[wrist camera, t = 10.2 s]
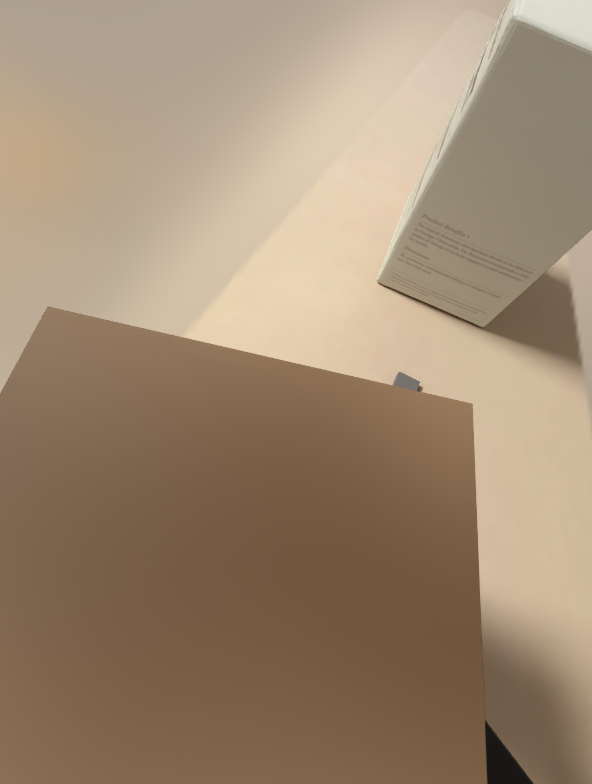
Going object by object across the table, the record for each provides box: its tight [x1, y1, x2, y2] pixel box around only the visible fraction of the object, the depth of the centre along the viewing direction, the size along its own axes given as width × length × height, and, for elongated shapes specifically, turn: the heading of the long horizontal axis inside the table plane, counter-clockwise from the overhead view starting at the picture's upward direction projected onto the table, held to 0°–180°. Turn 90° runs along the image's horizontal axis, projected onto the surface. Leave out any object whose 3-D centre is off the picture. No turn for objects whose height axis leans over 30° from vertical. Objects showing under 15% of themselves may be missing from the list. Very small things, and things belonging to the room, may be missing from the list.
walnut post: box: [0, 307, 487, 784], centre depth 9 cm, size 4×5×13 cm
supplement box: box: [377, 0, 592, 327], centre depth 19 cm, size 7×7×13 cm
